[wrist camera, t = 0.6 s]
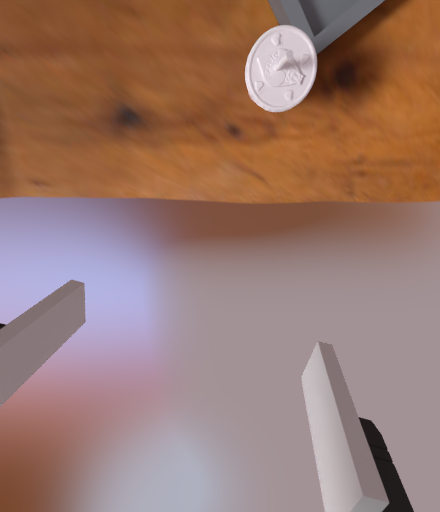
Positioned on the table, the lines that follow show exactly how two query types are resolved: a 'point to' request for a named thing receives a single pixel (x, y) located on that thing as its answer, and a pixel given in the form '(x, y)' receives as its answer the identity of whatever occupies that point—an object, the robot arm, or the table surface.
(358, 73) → the table surface
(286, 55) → the smoothie
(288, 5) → the tray
